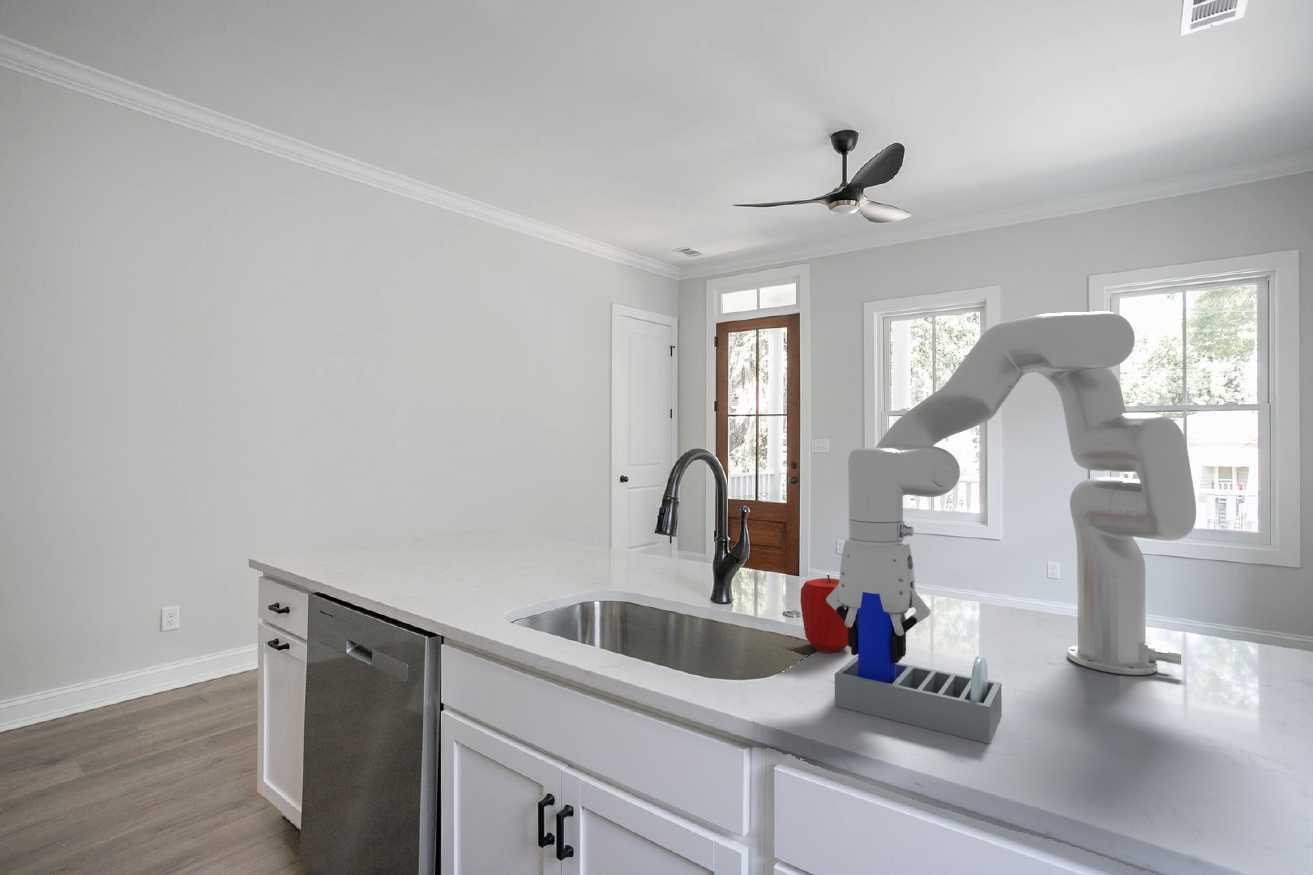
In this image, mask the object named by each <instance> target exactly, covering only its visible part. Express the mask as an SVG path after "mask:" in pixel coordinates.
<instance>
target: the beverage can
mask: <svg viewBox="0 0 1313 875" xmlns="http://www.w3.org/2000/svg"><path fill="white" fill-rule="evenodd" d="M893 634H894V626H893V623H892V620H891V617H890V614H888V613H886V612H884V610H883V606H882V603H881V599H880V594H879V593H878V592H877V591H876V590H875V589H873V588H867V589H865V590H864V591H863V594H862V601H861V607H860V608H859V609H858V654H857V655H858V677H861V678H866V679H871V680H876V681H880V682H885V683H890V684H892V683H893V682H894V681H895V680H896V668H895V663H893V662H892V655H891V636H892V635H893Z"/></svg>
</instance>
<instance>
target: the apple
mask: <svg viewBox="0 0 1313 875" xmlns="http://www.w3.org/2000/svg"><path fill="white" fill-rule="evenodd" d="M826 576H827V577H826V578H823V577H821V578H816V579H810V580H805V582H804V583H803V585H802V587H801V588H800V600H799V601H800V609H801V616H802V617H801V618H802V621H803V623H802V624H803V629H804V636H805V638H806V640H807V641H808V642H809V644H811V646H812V647H813V648H814V650H816V651H818V652H821V651H822V652H823V653H837V652H840V651H843V650H844V649H846V648H847V647H849V645H848V627H847V626H846V625H845V622H844V620H843V619H842V618H841V617H840V616H839V615H838V613H837V612H836V610H835V609H833V608H832V607H831V606H830V605H829V604H828V603H827V601H826V598H827V597H828V596H829V594H830V593H831V592H832V591H833V590H834V589H835V588H836V587H837V586H838V584H839V579H838V578H830V574H827V575H826ZM848 608H849V607H848Z"/></svg>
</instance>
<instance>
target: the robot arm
mask: <svg viewBox="0 0 1313 875" xmlns="http://www.w3.org/2000/svg"><path fill="white" fill-rule="evenodd" d="M1135 342H1136V341H1135V331H1134V328H1133V327H1132V325H1131V323H1130V322H1129V321H1128V320H1127V319H1126V318H1125V317H1124V316H1123V315H1121V314H1119V313H1116V312H1111V311H1094V312H1093V311H1090V312H1089V311H1088V312H1060V313H1059V312H1056V313H1043V314H1037V315H1033V316H1028V317H1023V318H1019V319H1011V320H1008V321H1005V322H1004V321H1003V322H1001V323H997V324H995V325H993V326H991V327H990V328H988V329H986V331H984V333H983V334H982V335H981V337H979V339H978V340H977V341H976V343H975V344H974V345H973V347H972V348H971V349H970V351H969V352H968V354H967V355H966V356H965V358H964V359H963V360H962V362H961V363H960V364H959V365H958V367H957V368H956V369H955V371H954V372H953V373H952V375H951V376H950V378H948V381H946V382H945V384H944V385H942V387H941V388H939V389H938V390H936V391H934V392H933V393H932V394H931V395H929V396H927V397H926V398H925V399H923V400H922V401H921V402H920V403H918V404H917V405H915V406H914V407H912V408H911V409H909V410H908V411H907V412H905V413H904V414H903V415H902V416H901V417H899V418H898V419H897V420H896V421H895V422H894V423H892V425H891V427H890V428H889V429H887V431H886V433H885V434H884V435H883V437H881V439H880V441H878V443H877V444H876V447H859V448H855V449H853V450H852V451H851V452H850V453H849V455H848V462H847V464H848V467H847V468H848V470H847V471H848V472H847V474H848V475H847V476H848V538H846V539H845V540H844V543H843V547H842V554H841V560H840V568H839V584H838V586H837V587H836V588H835V589H834V590H833V591H832V592H831V593H830V594H829V596H828V597H827V598H826V601H827V603H828V604H829V605H830V606H831V607H832V608H833V609H835V610H836V612H837V613H838V615H839V616H840V617H841V618H842V619H843V620H844V622H845V625H846V626H847V627H848V647H849V648H850V652H851V656H857V655H858V609H859V608H860V607H861V601H862V594H863V591H864V590H865V589H867V588H873V589H875V590H876V591H877V592H878V593H879V594H880V599H881V603H882V606H883V610H884V612H886V613H888V614H890V617H891V620H892V623H893V626H894V634H893V635H892V636H891V655H892V662H893V663H900V661H901V660H902V659H903V657H905V656H906V653H907V632H908V631H909V630H911V629H912V628H913V627H915V625H917V624H918V623H920V622H922V621H923V620H924V619H926V618H928V617H929V616H930V615H931V613H932V612H931V609H930V608H929V607H928V606H927V604H926V603H925V601H924V600H923V599H922V598H921V597H920V596H919V595H918V593H917V590H916V578H915V577H916V576H915V569H914V560H913V554H912V550H911V545H910V542H908V541H904V539H905V538H906V537H907V538H908V537H913V536H914V531H915V530H914V527H913V526H908V525H906V523H905V520H904V503H903V502H904V498H903V497H904V496H908V495H909V496H915V497H921V498H922V497H924V498H935V497H936V498H937V497H940V496H944V495H946V494H948V493H949V492H951V491H952V490H953V489H954V488H955V487H956V485H957V484H958V482H959V480H960V476H961V468H960V464H959V462H958V460H957V458H956V457H955V455H953V454H952V453H951V452H950V451H948V450H946V449H944V448H942V447H939V446H935V445H936V444H937V443H939V442H941V441H943V440H945V439H947V438H948V437H951V436H953V435H956V434H960V433H962V432H965V431H968V430H971V429H973V428H976V427H977V426H979V425H981V424H984V423H985V422H987V421H990V420H991V419H992V418H993V417H994V416H996V414H997V412H999V410H1000V408H1001V406H1002V405H1003V404H1004V403H1005V401H1006V399H1008V397H1009V395H1010V394H1011V393H1012V391H1013V389H1014V388H1015V387H1016V385H1017V384H1018V383H1019V382H1020V380H1021V379H1022V378H1023V376H1024V375H1026V374H1030V373H1038V374H1040V375H1041V376H1043V377H1044V378H1045V379H1047V380H1048V381H1049V382H1050V384H1052V385H1053V386H1054V387H1055V390H1056V391H1057V392H1058V394H1059V397H1060V400H1061V404H1062V407H1063V413H1064V418H1065V424H1066V429H1067V430H1066V431H1067V437H1068V441H1069V446H1070V452H1071V456H1072V458H1073V460H1074V463H1076V464H1077V466H1079V467H1081V468H1083V469H1085V470H1089V471H1095V472H1097V471H1098V472H1109V473H1110V472H1111V473H1129V474H1130V473H1131V474H1136V475H1137V476H1138V478H1131V477H1130V478H1129V477H1114V476H1113V477H1111V476H1098V477H1091V478H1088V479H1087V478H1086V479H1085V480H1082V481H1080V482H1079V483H1078V484H1077V485H1075V487H1074V488H1073V490H1072V491H1071V494H1070V499H1069V509H1070V516H1071V518H1072V524H1073V527H1074V533H1075V539H1076V540H1075V541H1076V555H1077V556H1076V558H1077V563H1076V564H1077V568H1076V569H1077V573H1076V575H1077V576H1076V578H1077V580H1076V581H1077V582H1076V583H1077V585H1076V586H1077V587H1076V588H1077V592H1076V593H1077V603H1076V604H1077V644H1075V645H1072V646H1070V647H1068V648H1067V652H1066V655H1067V658H1068V659H1069V660H1070V661H1072V662H1074V663H1076V664H1078V665H1081V666H1083V667H1086V668H1090V669H1092V670H1097V671H1101V672H1105V673H1109V674H1110V673H1111V674H1117V675H1126V676H1146V675H1152V674H1155V673H1156V672H1157V671H1158V670H1159V669H1158V662H1157V661H1159V662H1166V663H1168V664H1174V665H1179V666H1182V653H1181V652H1180V651H1179V652H1178V651H1173V650H1171V648H1165V647H1157V646H1153V644H1149V639H1148V637H1147V636H1146V635H1147V634H1146V630H1147V629H1146V628H1147V624H1146V621H1147V620H1146V561H1145V558H1144V555H1143V553H1142V550H1141V549H1140V546H1139V544H1138V543H1137V542H1136V540H1135V538H1141V539H1148V540H1149V539H1150V540H1155V541H1156V540H1157V541H1167V542H1168V541H1172V542H1173V541H1178V540H1182V539H1184V538H1186V537H1187V536H1188V535H1189V534H1191V532H1192V530H1193V529H1194V527H1195V524H1196V520H1197V502H1196V496H1195V495H1196V494H1195V488H1194V483H1193V482H1194V481H1193V475H1192V471H1191V470H1192V468H1191V464H1190V463H1191V462H1190V458H1189V451H1188V450H1189V449H1188V446H1187V441H1186V438H1185V435H1184V433H1183V430H1182V429H1181V428H1180V427H1179V425H1178V424H1177V422H1175V420H1173V419H1172V418H1170V417H1168V416H1166V415H1163V414H1159V413H1129V412H1128V411H1127V410H1126V405H1125V401H1124V397H1123V393H1122V388H1121V385H1120V381H1119V380H1118V378H1117V377H1116V375H1115V373H1114V372H1113V371H1112V370H1111V368H1113V367H1116V366H1118V365H1120V364H1122V363H1123V362H1124V361H1125V360H1127V359H1128V357H1130V355H1131V353H1132V352H1133V349H1134V345H1135ZM1134 537H1135V538H1134ZM848 607H849V608H848ZM913 608H914V610H915V613H913V614H912V615H910V616H909V617H908V618H907V616H906V614H907V613H908V611H909V609H913Z"/></svg>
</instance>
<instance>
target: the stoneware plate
mask: <svg viewBox="0 0 1313 875" xmlns="http://www.w3.org/2000/svg"><path fill="white" fill-rule="evenodd" d="M970 677H971V696H970V697H971V701H975V702H979V703H984V702H985V700H986V698H987V690H988V680H989V675H988V664H987V658H985V657H984V656H978V655H977V656H976V657H975V659H974V661H973V665H972V671H971V676H970Z"/></svg>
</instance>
